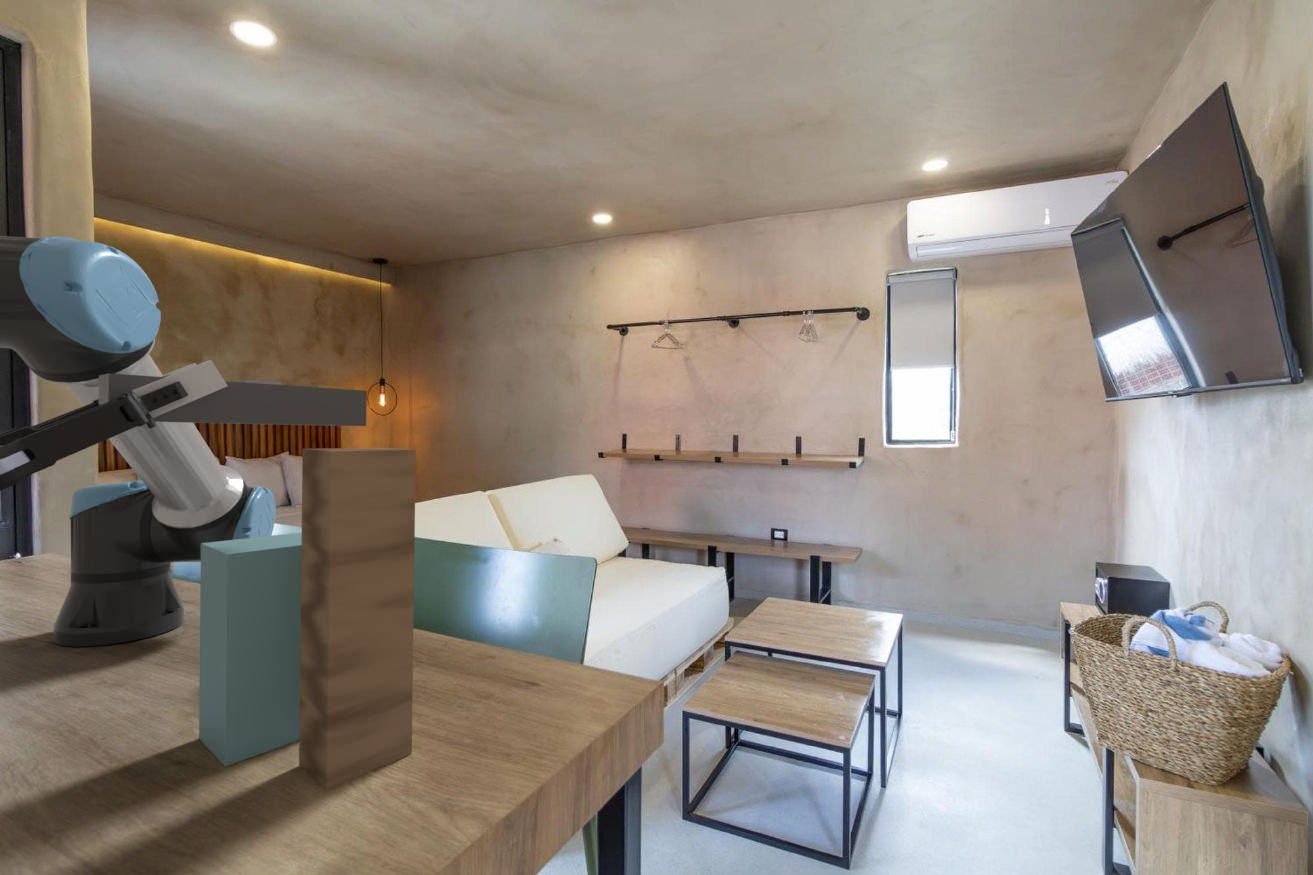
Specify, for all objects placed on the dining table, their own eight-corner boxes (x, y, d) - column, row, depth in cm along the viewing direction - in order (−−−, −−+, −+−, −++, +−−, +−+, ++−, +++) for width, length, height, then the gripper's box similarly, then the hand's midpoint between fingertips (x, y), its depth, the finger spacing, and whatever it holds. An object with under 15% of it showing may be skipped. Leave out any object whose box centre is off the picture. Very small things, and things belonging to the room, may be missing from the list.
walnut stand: (299, 765, 58) (302, 448, 58) (381, 733, 64) (385, 447, 64) (326, 789, 54) (330, 451, 54) (411, 753, 60) (415, 449, 60)
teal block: (198, 738, 63) (200, 543, 62) (308, 703, 71) (310, 531, 71) (225, 766, 58) (227, 554, 57) (340, 725, 66) (342, 539, 66)
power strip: (98, 420, 55) (99, 371, 55) (349, 426, 72) (350, 388, 72) (108, 420, 52) (108, 368, 52) (366, 426, 69) (366, 387, 69)
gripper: (-93, 541, 50) (205, 410, 66) (-90, 573, 40) (264, 407, 55) (-168, 463, 47) (162, 345, 63) (-187, 475, 37) (216, 329, 52)
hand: (209, 374), depth 59 cm, fingers closed on power strip, 4 cm apart
